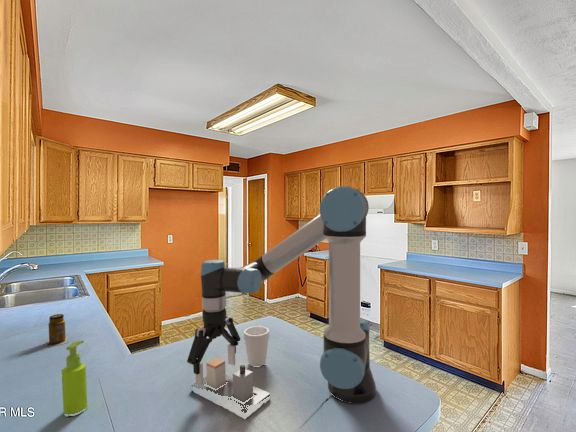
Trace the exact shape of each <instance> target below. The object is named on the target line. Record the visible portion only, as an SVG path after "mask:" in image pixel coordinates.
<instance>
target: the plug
mask: <svg viewBox="0 0 576 432" xmlns="http://www.w3.org/2000/svg"><path fill="white" fill-rule="evenodd" d="M225 374H226V360H223V359H221V358H219V357H215V358H213V359H211V360H209V361H207V362H206V377H207V385H209V386H211V387H213V388H215V389H217V388H219V387H220V386H222V385H224V384H226V375H227V374H226V375H225Z"/></svg>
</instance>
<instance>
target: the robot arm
mask: <svg viewBox="0 0 576 432" xmlns="http://www.w3.org/2000/svg"><path fill="white" fill-rule="evenodd" d="M369 206H370V205H369V201H368V199H367V197H366V196H365V194H364V193H363V192H361V191H360V190H358V189H357V188H354V187H352V186H346V185H342V186H336V187H334V188H332V189H330V190H328V191H327V192H326V193H325V194H324V195H323V197H322V199H321V201H320V204H319V215H317V216H316V217H314V218H312V220H310V221H308V222H307V223H306V224H304V225H303V226H301V227H300V228H299V229H298V230H296V231H294V232H293V233H292V234H291V235H289V236H287V237H286V238H285V239H284V240H283V239H282V241H281V242H279V243H278V244H276V245H275V246H274V247H272V248H271V249H269V250H268V251H266V252H265V253H264V254H262V255H261V256H259V257H258V258H256V259H255V260H254V261H252V262H250V263H248V264H245V265H242V266H240V267H227V266H226V263H225V261H224V260H221V259H209V260H204V261H203V262H202V263H201V266H200V282H201V307H202V311H201V313H202V322H203V328H201V329H199V328H195V330H194V338H193V341H192V344H191V348H190V351H189V354H188V356H187V357H188V358H187V361H186V363H188V364H189V365H193V366H192V367H193V368H192V369H193V374H195V383H196V382H197V383H199V384H201V385H202V384H203V378H204V364H203V362H202V361H203V358H204V355H206V354H205V353H206V352H207V349H208V347H209V345H210V344H211V343H212V342H213V340H215V339H217V338H218V337H221V336H222V337H223V338H224V339H225V340H226V341H227V342H228V344H227V363H228V365H232V366H236V353H237V346H238V345H239V342H240V341H241V336H240V335H239V332H238V330H237V328H236V327H235V324H234V319H233V317H230V316H227V308H226V307H227V296H226V295H227V294H226V292H229V293H241V294H256V293H258V292H259V291H260V289H261V286H262V283H263V282H265V281H266V280H268V279H269V278H270V277H271V276H272V275H274V274H276V273H277V272H279V271H280V270H281V269H283V268H285V267H286V266H287V265H289V264H290V263H292V262H293V261H294V260H296V259H298V258H300V257H301V256H302V255H304V254H305V253H307V252H309V250H311V249H313V248H314V247H316V246H317V245H319V244H320V243H322V242H324V240H327V242H328V325H327V326H326V328H324V330H323V351H322V354H321V356H320V360H319V361H320V364H319V368H320V372H321V375H322V376H323V378H324V379H325V380H326V381H327V390H328V389H329V390H328V391H329V393H330V392H331V393H332V394H333V395H334V396H335V397H337V398H339V399H341V400H343V401H346V402H351V403H350V404H354V403H357V404H364V403H367V402H369V401H371V400H373V399H374V398H375V396H376V394H377V393H376V392H377V391H376V389H377V387H376V386H377V385H376V381H375V379H374V376H373V372H372V370H371V367H370V365H371V364H370V362H371V361H370V332H371V331H370V330H371V329H370V324H369V322H368V321H367V320H366V319H364V318H362V317H361V243H362V241H363V240H364V239H365V238H366V237H367V215H368V213H369V209H370V208H369ZM226 328H227V329H228V330H227V329H226ZM331 393H330V394H331ZM335 397H334V398H335ZM343 401H342V402H343ZM346 402H345V403H346Z"/></svg>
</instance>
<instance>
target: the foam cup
mask: <svg viewBox="0 0 576 432" xmlns="http://www.w3.org/2000/svg"><path fill="white" fill-rule="evenodd" d="M269 339H270V329H269V328H268V327H266V326H263V325H255V326H249V327H247V328H246V329H244V331H243V340H244V342H245V343H244V344H245V348H246V349H245V351H246V356H247V361H248V365H249V364H250V365H252V366H262V365H264V364H265V363H266V364H267V357H268V356H267V355H268V346H269V345H268V344H269ZM250 365H249V366H250ZM262 367H263V366H262Z"/></svg>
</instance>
